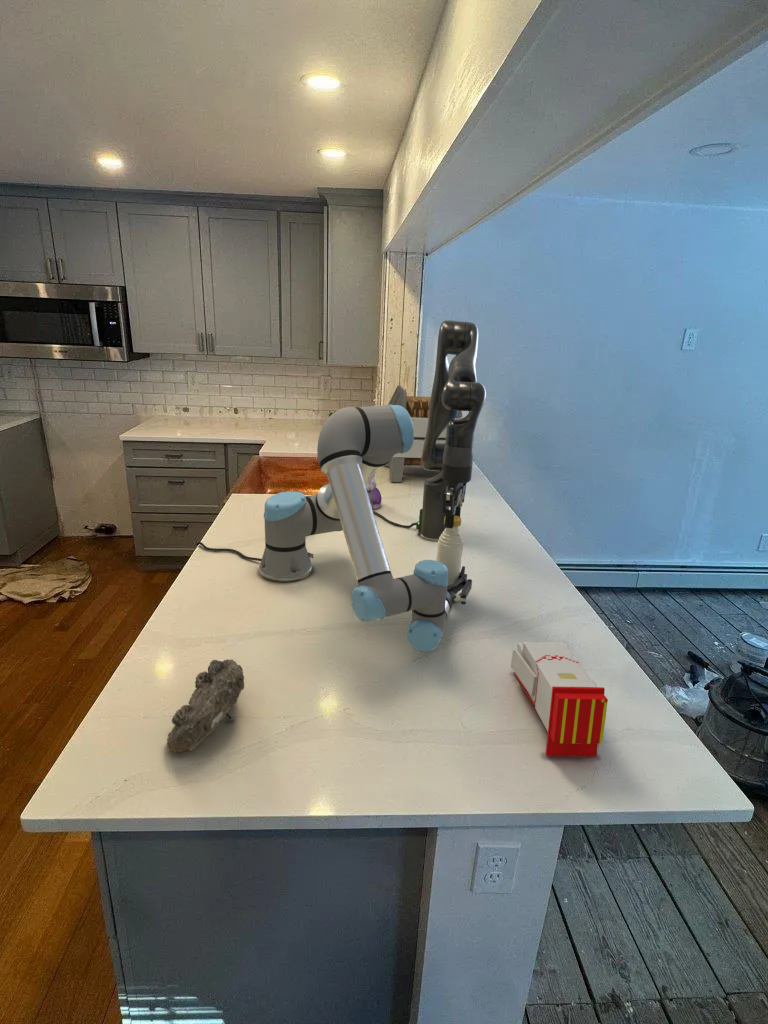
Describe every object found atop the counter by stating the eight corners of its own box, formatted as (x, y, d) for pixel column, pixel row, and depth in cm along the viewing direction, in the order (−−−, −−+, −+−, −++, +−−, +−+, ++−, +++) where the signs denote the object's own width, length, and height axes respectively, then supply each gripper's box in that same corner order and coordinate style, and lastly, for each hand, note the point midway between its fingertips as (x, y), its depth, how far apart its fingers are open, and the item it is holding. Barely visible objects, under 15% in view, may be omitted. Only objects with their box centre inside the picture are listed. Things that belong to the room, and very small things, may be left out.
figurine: (365, 511, 219) (366, 474, 214) (354, 503, 228) (355, 467, 223) (387, 509, 223) (388, 472, 218) (375, 501, 232) (377, 465, 227)
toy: (559, 625, 127) (617, 695, 97) (554, 680, 130) (608, 764, 100) (506, 624, 126) (547, 694, 97) (501, 679, 129) (540, 763, 100)
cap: (446, 520, 152) (447, 513, 152) (462, 523, 151) (463, 516, 150) (441, 525, 148) (442, 518, 148) (458, 528, 147) (458, 521, 146)
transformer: (382, 463, 289) (386, 382, 275) (445, 464, 293) (451, 384, 279) (390, 482, 257) (394, 392, 243) (460, 483, 261) (468, 394, 247)
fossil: (192, 660, 117) (244, 628, 112) (224, 691, 120) (276, 661, 115) (142, 746, 98) (202, 712, 93) (182, 779, 101) (242, 748, 96)
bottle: (455, 592, 160) (463, 516, 152) (459, 604, 154) (467, 525, 146) (431, 591, 160) (438, 515, 152) (434, 603, 154) (441, 524, 146)
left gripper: (395, 613, 142) (415, 575, 163) (473, 627, 137) (484, 586, 158) (396, 586, 139) (416, 551, 160) (476, 600, 135) (486, 561, 156)
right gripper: (451, 453, 151) (446, 513, 157) (435, 466, 139) (430, 530, 144) (478, 457, 149) (472, 517, 154) (465, 470, 136) (458, 535, 142)
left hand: (450, 568), depth 159 cm, fingers closed on bottle, 7 cm apart
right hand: (452, 523), depth 149 cm, fingers open, 5 cm apart
